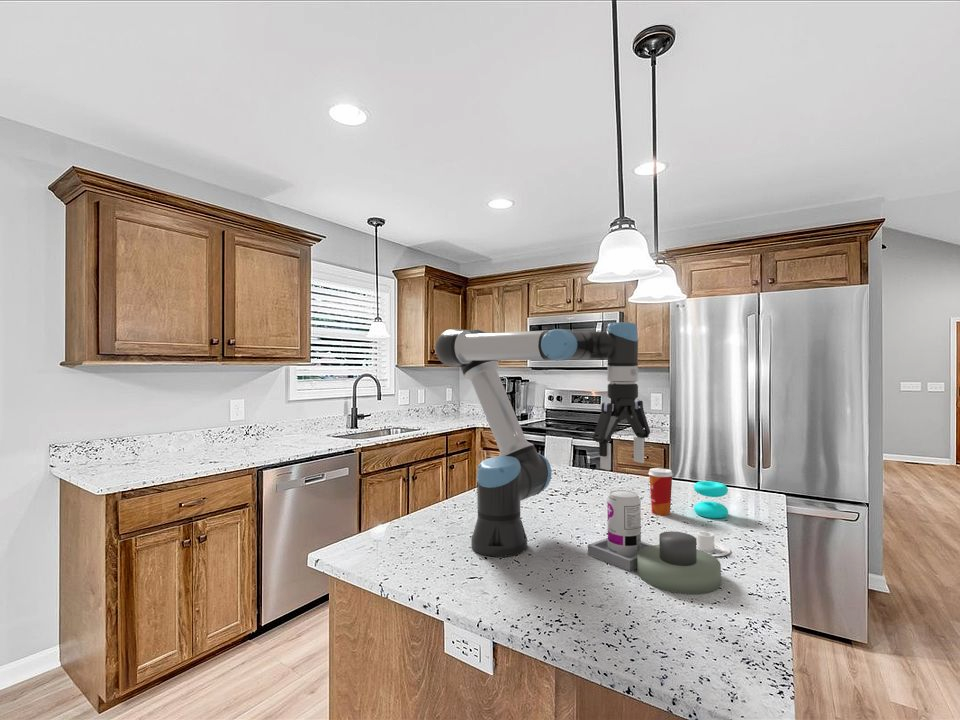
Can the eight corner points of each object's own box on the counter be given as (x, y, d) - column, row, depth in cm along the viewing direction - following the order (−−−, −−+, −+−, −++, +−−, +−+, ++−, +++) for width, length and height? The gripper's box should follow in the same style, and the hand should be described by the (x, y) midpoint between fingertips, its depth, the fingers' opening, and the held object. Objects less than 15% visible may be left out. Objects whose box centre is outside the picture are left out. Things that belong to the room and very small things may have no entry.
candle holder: (692, 559, 127) (692, 542, 127) (673, 541, 139) (673, 526, 139) (739, 558, 127) (739, 541, 127) (717, 541, 139) (716, 526, 139)
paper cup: (653, 508, 169) (653, 466, 169) (676, 512, 164) (676, 469, 164) (644, 513, 163) (644, 470, 163) (668, 518, 158) (668, 474, 158)
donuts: (732, 483, 161) (720, 489, 154) (733, 514, 161) (721, 521, 154) (701, 478, 168) (688, 483, 161) (701, 508, 168) (688, 514, 161)
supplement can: (607, 556, 125) (606, 496, 125) (608, 544, 133) (608, 488, 133) (641, 560, 123) (640, 499, 123) (640, 547, 131) (640, 490, 131)
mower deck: (693, 602, 103) (693, 559, 103) (581, 556, 128) (580, 521, 128) (736, 579, 114) (735, 539, 114) (625, 540, 139) (624, 508, 139)
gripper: (602, 385, 117) (602, 475, 118) (663, 381, 132) (663, 461, 133) (578, 383, 123) (578, 469, 124) (639, 380, 138) (639, 457, 139)
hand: (622, 465), depth 128 cm, fingers open, 13 cm apart
